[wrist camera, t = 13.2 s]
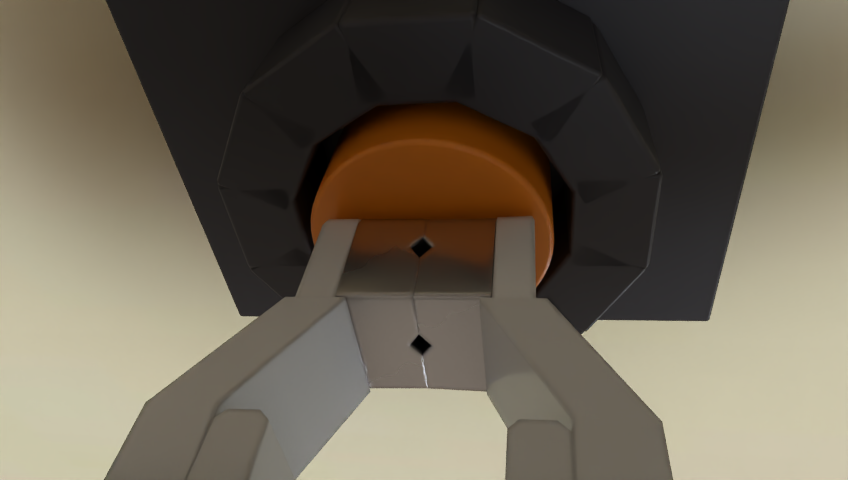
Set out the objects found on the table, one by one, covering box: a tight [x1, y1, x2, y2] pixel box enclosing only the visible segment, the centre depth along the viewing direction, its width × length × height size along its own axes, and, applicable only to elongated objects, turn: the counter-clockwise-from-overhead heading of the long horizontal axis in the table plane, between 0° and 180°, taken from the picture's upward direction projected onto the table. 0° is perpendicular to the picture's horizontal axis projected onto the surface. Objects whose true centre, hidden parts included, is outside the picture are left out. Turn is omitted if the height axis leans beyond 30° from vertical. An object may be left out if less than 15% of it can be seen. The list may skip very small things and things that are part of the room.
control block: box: [106, 0, 790, 334], centre depth 11 cm, size 10×8×4 cm
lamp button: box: [311, 102, 554, 287], centre depth 10 cm, size 4×4×2 cm
